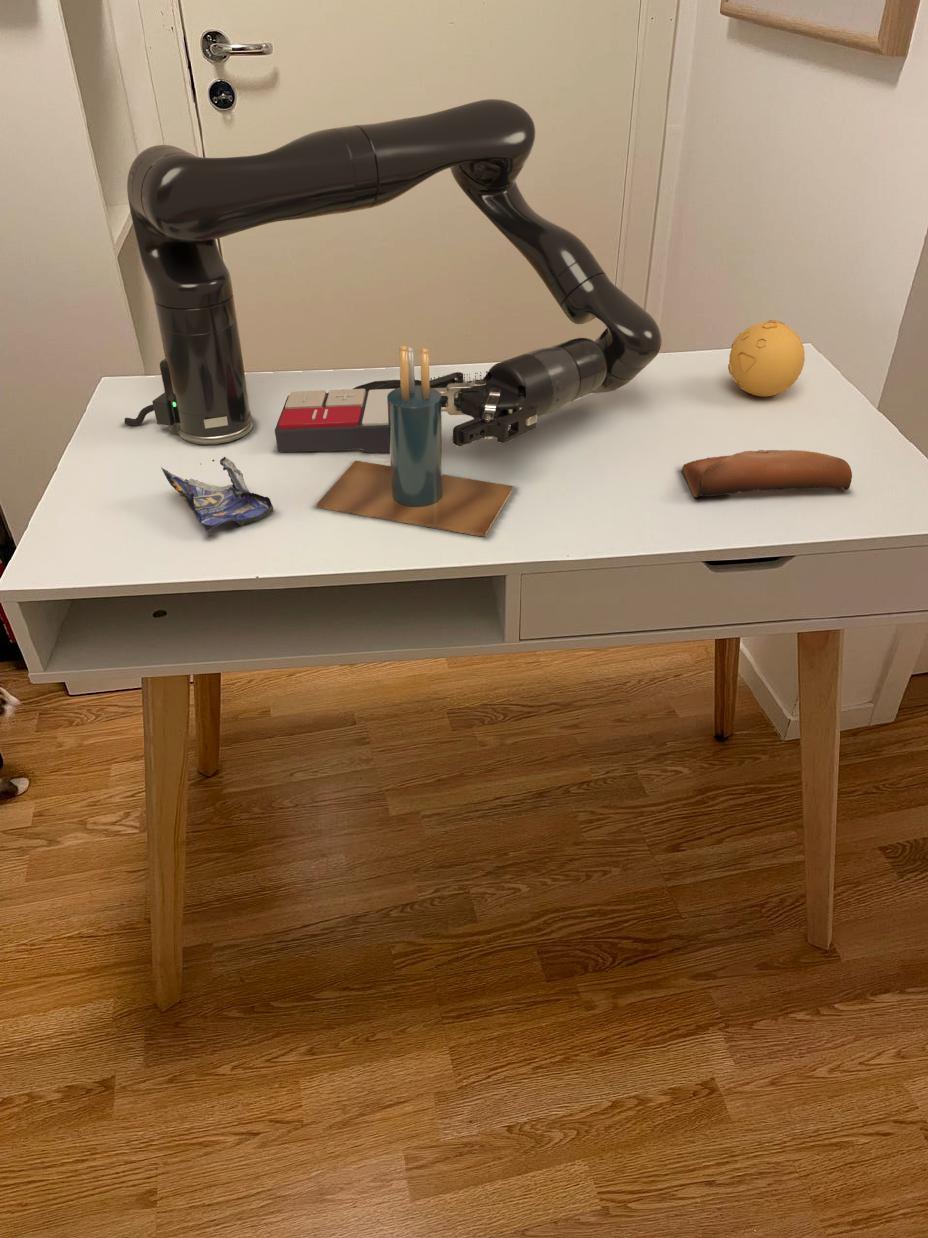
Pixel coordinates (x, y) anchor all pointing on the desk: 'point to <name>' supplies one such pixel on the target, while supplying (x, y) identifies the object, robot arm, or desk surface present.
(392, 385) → the hairbrush
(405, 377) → the cutlery holder
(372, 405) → the calculator
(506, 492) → the brown wooden board
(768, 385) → the stress ball
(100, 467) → the desk surface
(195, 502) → the snack package
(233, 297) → the robot arm
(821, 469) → the sunglasses case
